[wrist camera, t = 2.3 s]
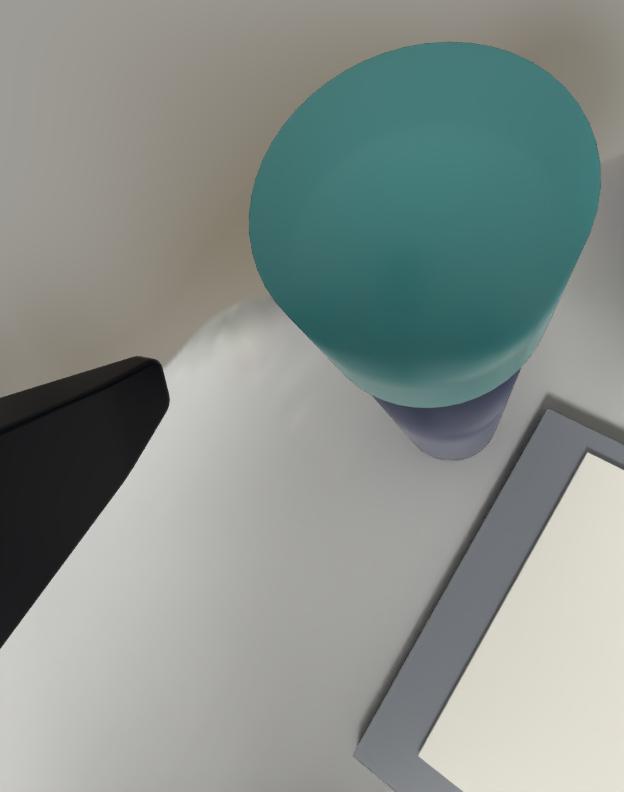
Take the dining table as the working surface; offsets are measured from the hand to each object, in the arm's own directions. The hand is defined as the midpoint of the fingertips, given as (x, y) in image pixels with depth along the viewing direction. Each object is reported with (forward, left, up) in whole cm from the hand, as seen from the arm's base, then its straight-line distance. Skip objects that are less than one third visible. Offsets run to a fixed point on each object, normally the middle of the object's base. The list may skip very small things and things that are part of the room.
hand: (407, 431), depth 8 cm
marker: (+2, +1, -9) cm, 10 cm away
